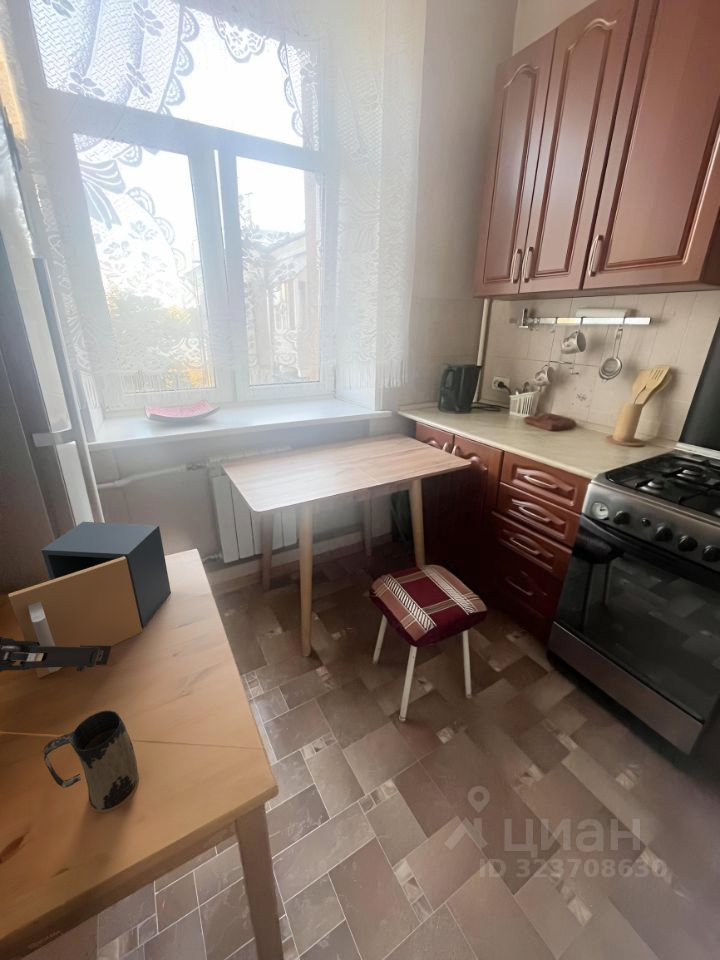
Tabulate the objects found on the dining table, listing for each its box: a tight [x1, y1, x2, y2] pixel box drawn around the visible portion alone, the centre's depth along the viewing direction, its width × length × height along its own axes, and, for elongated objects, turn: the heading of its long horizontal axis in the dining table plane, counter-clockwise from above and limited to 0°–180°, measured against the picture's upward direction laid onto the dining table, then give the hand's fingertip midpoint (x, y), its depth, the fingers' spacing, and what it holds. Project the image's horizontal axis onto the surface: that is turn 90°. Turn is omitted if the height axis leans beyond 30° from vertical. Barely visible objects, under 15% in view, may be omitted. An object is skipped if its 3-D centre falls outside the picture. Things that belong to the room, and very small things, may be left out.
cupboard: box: [41, 521, 172, 629], centre depth 79 cm, size 11×16×17 cm
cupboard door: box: [7, 556, 143, 679], centre depth 66 cm, size 6×16×17 cm, turn 134°
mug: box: [43, 710, 140, 814], centre depth 48 cm, size 8×6×12 cm
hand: (71, 653), depth 63 cm, fingers open, 11 cm apart
